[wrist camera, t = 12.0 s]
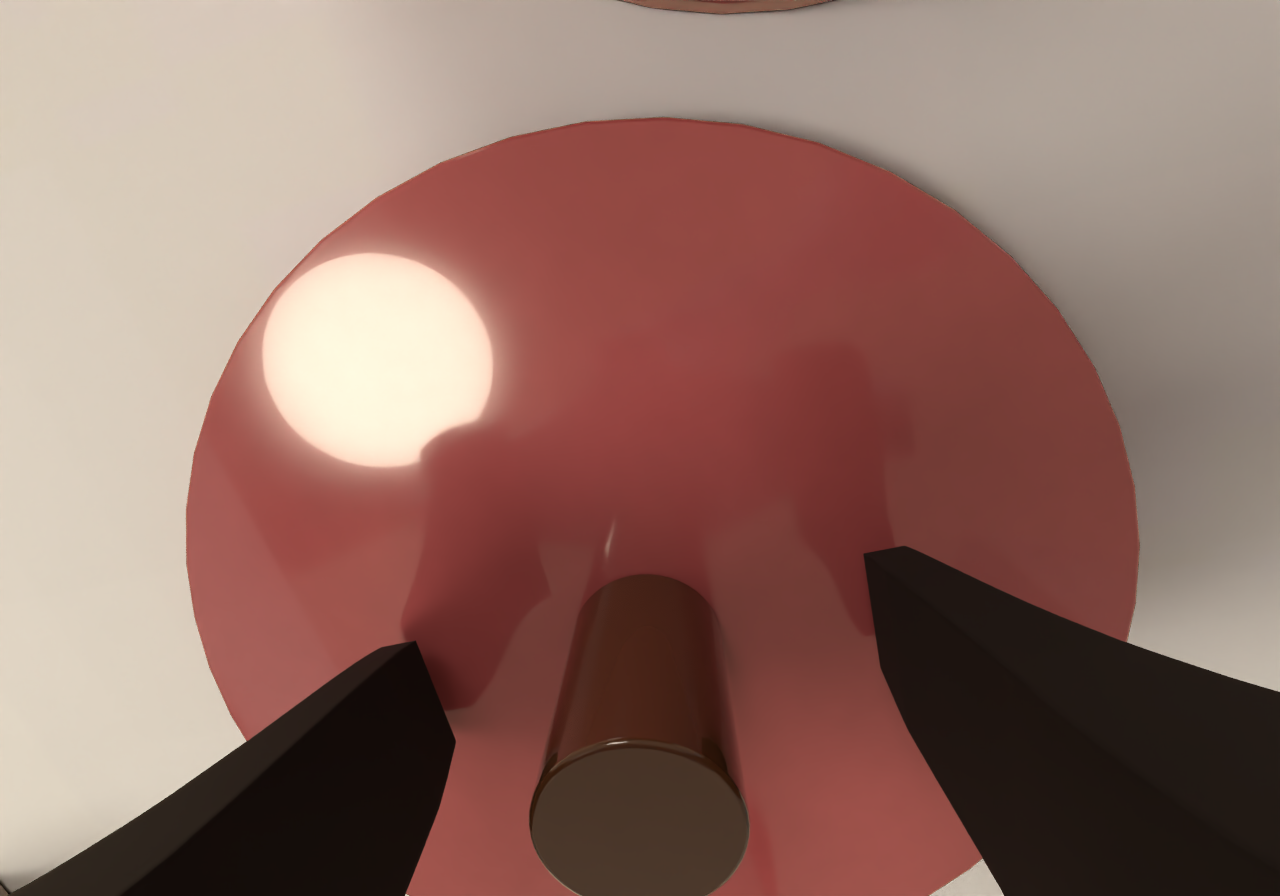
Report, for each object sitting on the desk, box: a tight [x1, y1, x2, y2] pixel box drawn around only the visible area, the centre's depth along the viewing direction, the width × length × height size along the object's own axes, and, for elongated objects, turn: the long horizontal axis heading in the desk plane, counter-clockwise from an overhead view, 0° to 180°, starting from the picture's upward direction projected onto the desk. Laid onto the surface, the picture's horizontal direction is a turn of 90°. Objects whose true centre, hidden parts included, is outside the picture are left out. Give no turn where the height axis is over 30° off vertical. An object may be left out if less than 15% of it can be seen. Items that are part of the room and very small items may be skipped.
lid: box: [186, 117, 1140, 896], centre depth 9 cm, size 15×15×5 cm
